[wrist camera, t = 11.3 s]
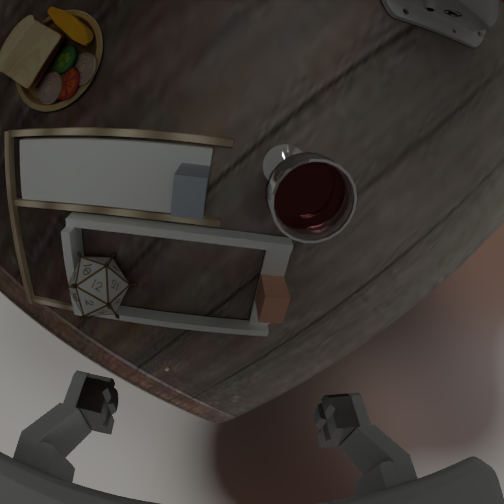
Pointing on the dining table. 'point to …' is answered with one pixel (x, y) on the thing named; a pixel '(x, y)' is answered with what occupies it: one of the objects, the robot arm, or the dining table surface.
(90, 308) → the game die
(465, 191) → the dining table surface
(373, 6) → the dining table surface
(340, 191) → the wineglass
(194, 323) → the grey rectangular frame
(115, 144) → the inner strip
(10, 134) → the lane rails
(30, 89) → the toy sandwich meal
